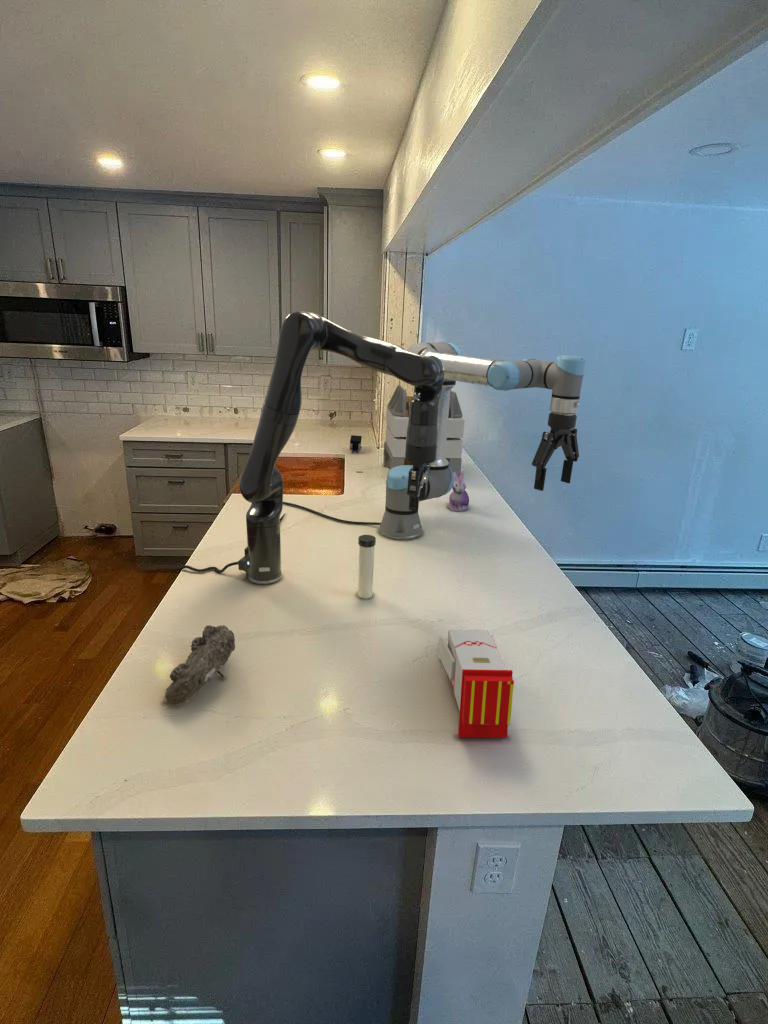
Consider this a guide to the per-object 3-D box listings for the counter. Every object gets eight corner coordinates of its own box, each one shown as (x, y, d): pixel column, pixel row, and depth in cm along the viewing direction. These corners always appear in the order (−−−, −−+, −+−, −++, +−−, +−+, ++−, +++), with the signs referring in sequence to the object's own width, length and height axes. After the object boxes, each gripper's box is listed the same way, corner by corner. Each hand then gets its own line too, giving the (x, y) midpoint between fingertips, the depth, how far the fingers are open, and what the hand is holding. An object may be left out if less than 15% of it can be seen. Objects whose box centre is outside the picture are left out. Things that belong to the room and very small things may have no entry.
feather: (292, 507, 224) (294, 503, 223) (275, 531, 197) (278, 527, 197) (288, 505, 224) (291, 501, 223) (271, 528, 197) (273, 524, 197)
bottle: (375, 594, 157) (377, 539, 151) (366, 600, 154) (369, 543, 148) (363, 590, 159) (365, 535, 153) (354, 595, 156) (356, 539, 150)
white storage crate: (382, 463, 289) (386, 382, 275) (445, 464, 293) (451, 384, 279) (390, 482, 257) (394, 392, 243) (460, 483, 261) (468, 394, 247)
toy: (488, 613, 130) (523, 677, 101) (484, 667, 133) (517, 744, 104) (435, 612, 130) (455, 676, 101) (432, 666, 133) (451, 743, 103)
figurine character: (361, 456, 305) (361, 447, 319) (361, 443, 302) (362, 434, 315) (348, 456, 305) (350, 446, 318) (349, 442, 302) (350, 433, 315)
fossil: (189, 627, 129) (235, 597, 124) (218, 656, 132) (264, 627, 127) (143, 698, 109) (196, 665, 104) (179, 729, 112) (232, 699, 107)
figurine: (455, 513, 222) (459, 476, 217) (441, 505, 231) (444, 469, 226) (475, 510, 226) (479, 474, 221) (460, 502, 235) (464, 467, 230)
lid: (378, 543, 152) (379, 537, 151) (369, 548, 148) (369, 542, 148) (364, 539, 154) (364, 533, 154) (354, 544, 151) (355, 538, 150)
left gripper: (412, 434, 144) (408, 494, 149) (399, 445, 131) (395, 511, 136) (442, 437, 142) (436, 498, 148) (431, 449, 129) (426, 516, 135)
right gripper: (548, 419, 148) (537, 496, 155) (598, 411, 163) (586, 482, 171) (525, 414, 153) (515, 489, 160) (575, 407, 169) (564, 476, 176)
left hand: (417, 504), depth 142 cm, fingers open, 8 cm apart
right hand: (552, 485), depth 166 cm, fingers open, 13 cm apart
